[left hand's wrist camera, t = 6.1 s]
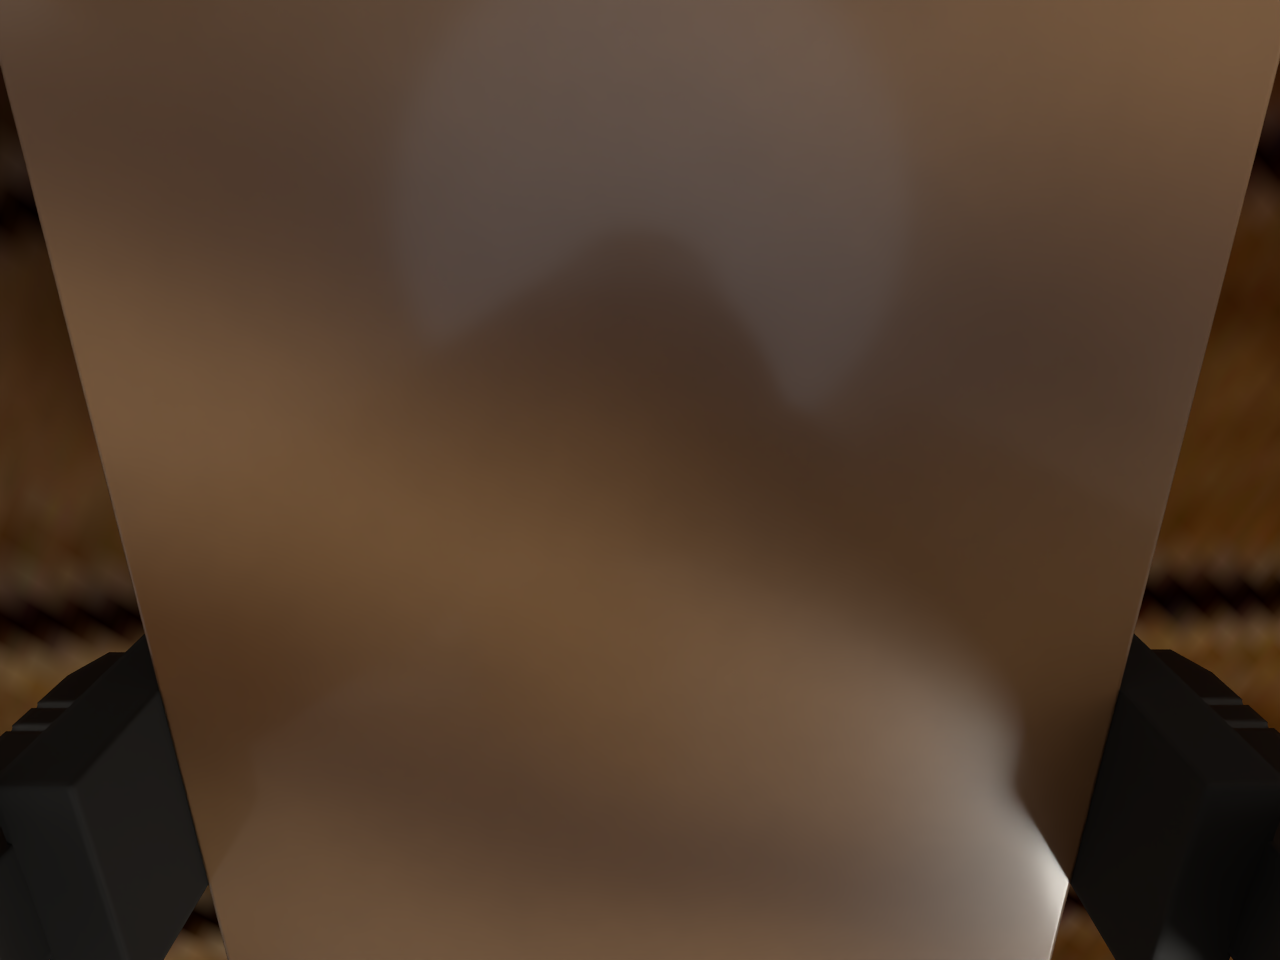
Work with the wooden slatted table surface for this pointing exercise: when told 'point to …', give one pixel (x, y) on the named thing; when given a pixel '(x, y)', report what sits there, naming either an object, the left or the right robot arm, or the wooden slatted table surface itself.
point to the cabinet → (639, 443)
